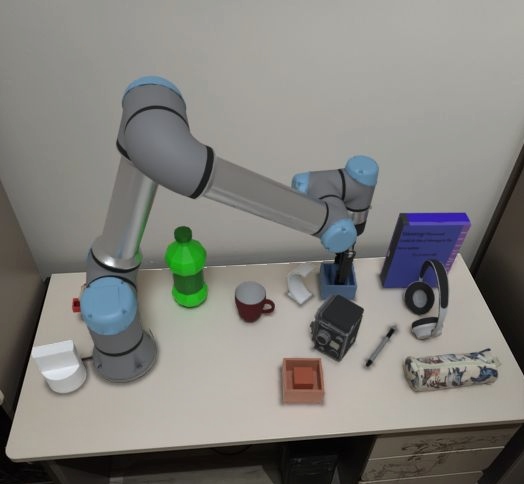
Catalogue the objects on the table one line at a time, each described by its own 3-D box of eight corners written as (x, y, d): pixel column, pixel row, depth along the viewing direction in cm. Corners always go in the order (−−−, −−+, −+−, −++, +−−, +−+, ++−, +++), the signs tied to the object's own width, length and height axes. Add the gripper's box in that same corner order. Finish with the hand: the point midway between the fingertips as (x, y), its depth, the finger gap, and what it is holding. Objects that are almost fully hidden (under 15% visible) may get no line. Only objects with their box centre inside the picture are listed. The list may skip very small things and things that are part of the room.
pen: (364, 365, 124) (365, 362, 123) (394, 324, 132) (395, 321, 131) (369, 368, 123) (370, 365, 122) (398, 327, 132) (399, 324, 131)
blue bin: (321, 299, 137) (323, 286, 133) (318, 275, 143) (321, 262, 139) (353, 299, 138) (357, 286, 134) (349, 275, 144) (353, 262, 139)
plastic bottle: (169, 312, 132) (157, 245, 113) (176, 284, 139) (166, 216, 120) (206, 315, 132) (200, 248, 113) (211, 286, 139) (206, 218, 120)
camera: (322, 322, 132) (330, 285, 121) (356, 341, 129) (368, 305, 117) (301, 347, 127) (307, 311, 115) (337, 368, 123) (347, 333, 111)
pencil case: (478, 361, 126) (493, 339, 118) (492, 390, 120) (508, 369, 113) (396, 369, 123) (406, 347, 116) (406, 399, 118) (418, 378, 110)
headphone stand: (300, 304, 136) (305, 275, 127) (285, 292, 138) (288, 263, 129) (311, 296, 138) (316, 266, 129) (296, 284, 141) (300, 254, 131)
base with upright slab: (85, 357, 122) (72, 329, 113) (87, 388, 117) (74, 360, 108) (48, 365, 121) (32, 337, 111) (48, 396, 115) (31, 369, 106)
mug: (273, 305, 135) (275, 280, 128) (274, 328, 130) (276, 304, 123) (234, 305, 135) (234, 281, 127) (235, 328, 130) (234, 304, 122)
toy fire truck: (99, 290, 137) (91, 266, 129) (93, 329, 128) (84, 306, 121) (86, 291, 136) (78, 267, 129) (80, 330, 128) (70, 307, 120)
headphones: (442, 350, 127) (469, 301, 112) (410, 350, 127) (433, 301, 112) (426, 295, 140) (448, 243, 124) (396, 294, 140) (416, 243, 124)
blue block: (330, 286, 137) (333, 275, 133) (329, 274, 140) (331, 263, 136) (346, 286, 137) (349, 275, 134) (345, 274, 140) (347, 263, 136)
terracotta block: (293, 393, 118) (294, 383, 114) (291, 376, 120) (293, 367, 117) (311, 393, 118) (313, 383, 114) (310, 376, 121) (312, 367, 117)
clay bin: (283, 402, 116) (284, 391, 112) (281, 369, 122) (283, 357, 118) (321, 403, 117) (324, 391, 112) (318, 370, 122) (321, 358, 118)
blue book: (437, 275, 145) (465, 211, 127) (441, 287, 142) (471, 224, 124) (379, 275, 144) (399, 212, 126) (382, 288, 141) (404, 224, 123)
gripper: (372, 240, 115) (354, 304, 133) (362, 194, 126) (347, 258, 144) (340, 240, 115) (327, 303, 132) (333, 193, 126) (321, 257, 144)
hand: (337, 279), depth 138 cm, fingers closed on blue block, 4 cm apart
